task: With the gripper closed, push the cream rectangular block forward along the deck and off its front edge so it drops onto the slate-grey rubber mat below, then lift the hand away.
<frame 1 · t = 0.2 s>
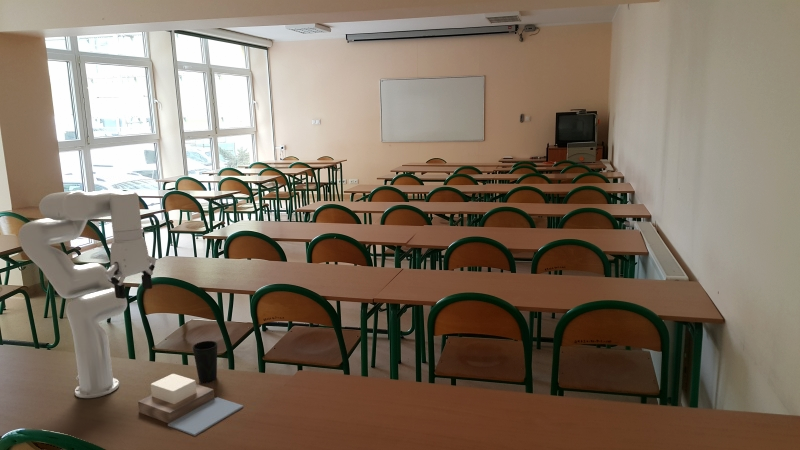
hand: (134, 293, 167), 36 cm above the table, tool pointing down, fingers open, 9 cm apart
mat: (206, 416, 168), on the table
cup: (208, 380, 191), on the table
cream rectangular block: (174, 394, 174), point 3 cm above the table, touching deck
deck: (177, 406, 174), on the table
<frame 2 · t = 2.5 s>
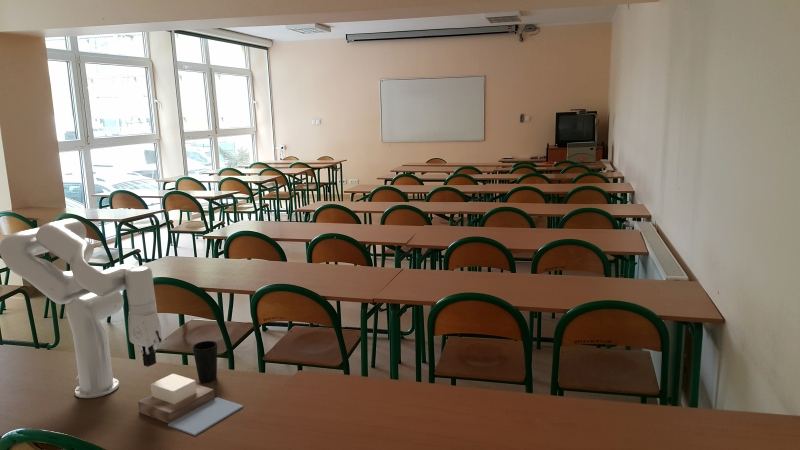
hand: (150, 364, 177), 11 cm above the table, tool pointing down, fingers closed
nothing on the table moved.
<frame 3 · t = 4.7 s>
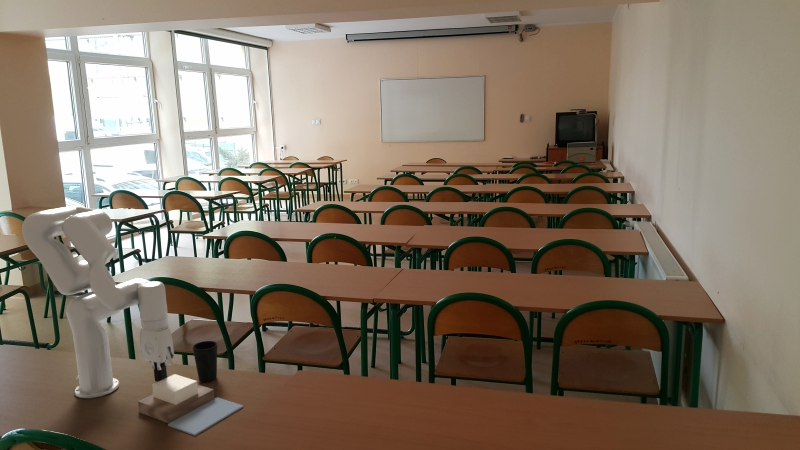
hand: (161, 380, 176), 7 cm above the table, tool pointing down, fingers closed
cream rectangular block: (175, 395, 173), point 4 cm above the table, touching deck, gripper
everything else where it was.
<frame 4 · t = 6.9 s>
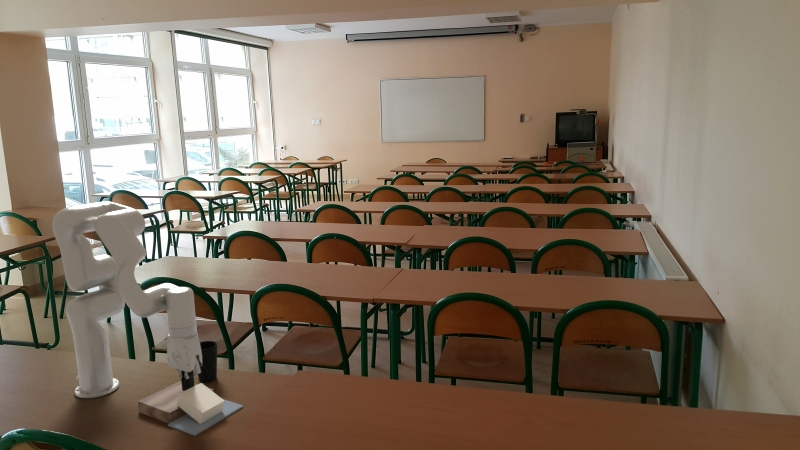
hand: (188, 389, 170), 7 cm above the table, tool pointing down, fingers closed
cream rectangular block: (199, 408, 168), point 2 cm above the table, tilted 20°, touching gripper
everything else where it was.
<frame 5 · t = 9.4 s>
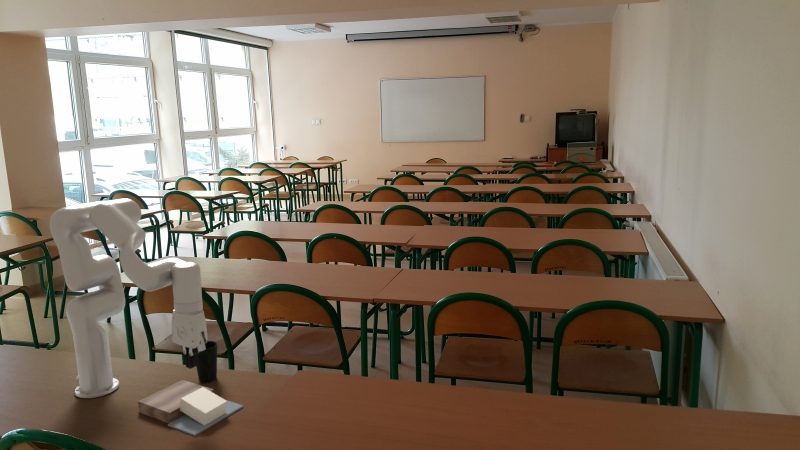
hand: (192, 366, 167), 15 cm above the table, tool pointing down, fingers closed
cream rectangular block: (203, 411, 167), point 2 cm above the table, tilted 12°, touching deck, mat
everything else where it was.
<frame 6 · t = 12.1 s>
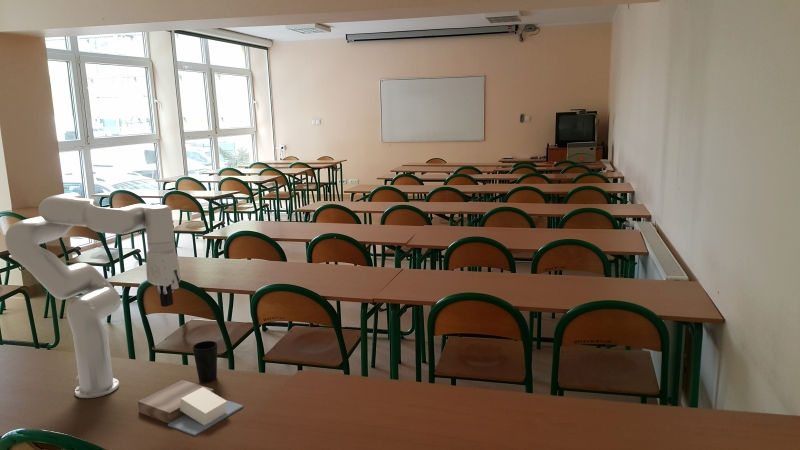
hand: (167, 305, 176), 29 cm above the table, tool pointing down, fingers closed
nothing on the table moved.
at the end: cream rectangular block inside the target area on the mat (0.8 cm from its centre), point 1.5 cm above the mat's base; cream rectangular block touching deck, mat; the gripper is holding nothing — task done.
